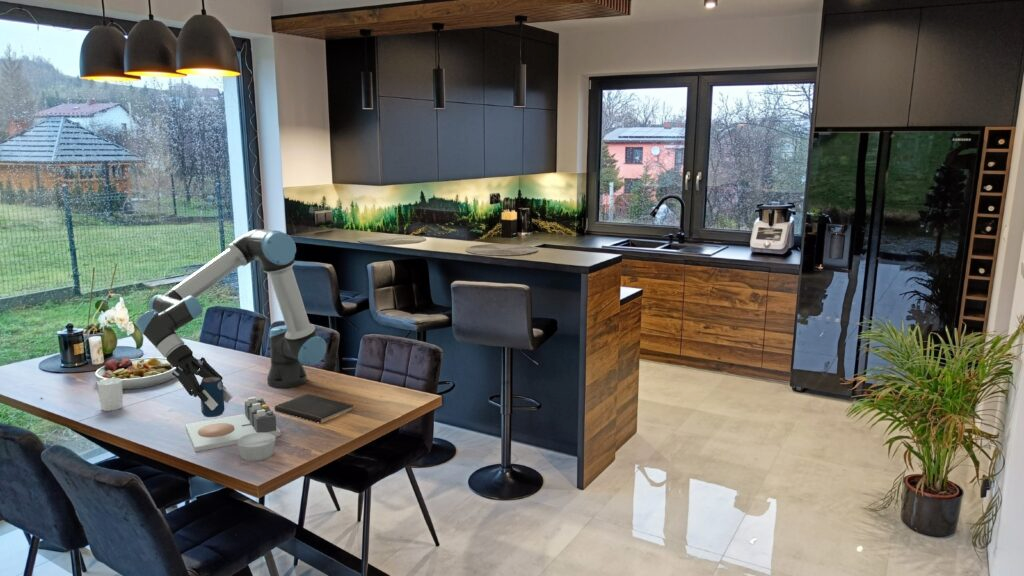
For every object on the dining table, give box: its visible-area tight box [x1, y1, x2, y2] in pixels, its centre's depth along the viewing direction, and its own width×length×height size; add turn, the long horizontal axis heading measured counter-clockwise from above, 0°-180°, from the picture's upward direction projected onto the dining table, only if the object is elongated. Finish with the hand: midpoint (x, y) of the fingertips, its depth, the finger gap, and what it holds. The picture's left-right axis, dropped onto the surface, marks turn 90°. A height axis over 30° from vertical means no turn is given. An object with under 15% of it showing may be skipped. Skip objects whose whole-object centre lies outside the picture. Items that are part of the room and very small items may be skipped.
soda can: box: [199, 376, 226, 418], centre depth 234 cm, size 7×7×12 cm
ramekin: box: [236, 433, 277, 462], centre depth 221 cm, size 11×11×5 cm
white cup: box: [96, 378, 124, 412], centre depth 260 cm, size 8×8×10 cm
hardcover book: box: [274, 393, 354, 424], centre depth 260 cm, size 16×23×2 cm
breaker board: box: [184, 396, 282, 452], centre depth 239 cm, size 26×22×8 cm
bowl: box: [94, 357, 176, 390], centre depth 292 cm, size 30×30×8 cm
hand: (222, 403), depth 234 cm, fingers closed on soda can, 7 cm apart
